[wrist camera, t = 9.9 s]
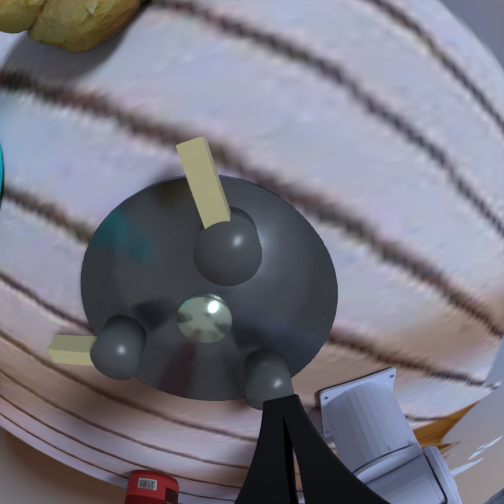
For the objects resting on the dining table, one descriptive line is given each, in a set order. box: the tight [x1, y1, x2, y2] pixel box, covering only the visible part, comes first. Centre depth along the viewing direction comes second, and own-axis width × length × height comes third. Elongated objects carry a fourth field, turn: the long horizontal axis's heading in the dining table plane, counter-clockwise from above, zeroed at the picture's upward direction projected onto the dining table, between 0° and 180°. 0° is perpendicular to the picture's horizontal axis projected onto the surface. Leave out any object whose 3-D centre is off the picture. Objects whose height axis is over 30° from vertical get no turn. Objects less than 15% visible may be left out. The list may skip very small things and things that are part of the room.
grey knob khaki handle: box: [47, 315, 147, 380], centre depth 17 cm, size 7×3×3 cm, turn 94°
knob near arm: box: [243, 349, 294, 410], centre depth 19 cm, size 7×3×3 cm, turn 13°
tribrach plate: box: [81, 175, 338, 401], centre depth 19 cm, size 18×18×2 cm
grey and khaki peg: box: [176, 136, 262, 286], centre depth 14 cm, size 7×3×3 cm, turn 17°
